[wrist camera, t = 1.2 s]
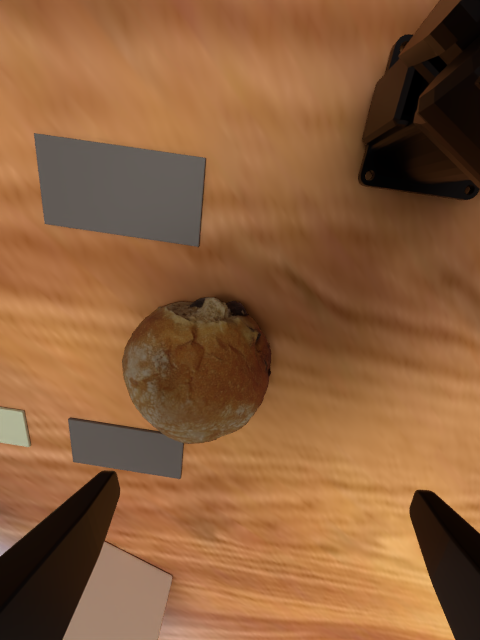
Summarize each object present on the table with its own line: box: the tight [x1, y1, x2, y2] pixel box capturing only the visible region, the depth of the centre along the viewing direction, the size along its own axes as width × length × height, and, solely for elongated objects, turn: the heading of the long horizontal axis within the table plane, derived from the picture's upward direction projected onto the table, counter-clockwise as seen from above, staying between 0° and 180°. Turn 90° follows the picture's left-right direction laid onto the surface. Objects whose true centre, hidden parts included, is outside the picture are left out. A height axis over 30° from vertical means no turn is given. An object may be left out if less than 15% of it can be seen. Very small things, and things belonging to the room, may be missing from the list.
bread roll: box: [122, 297, 271, 444], centre depth 19 cm, size 10×10×8 cm
